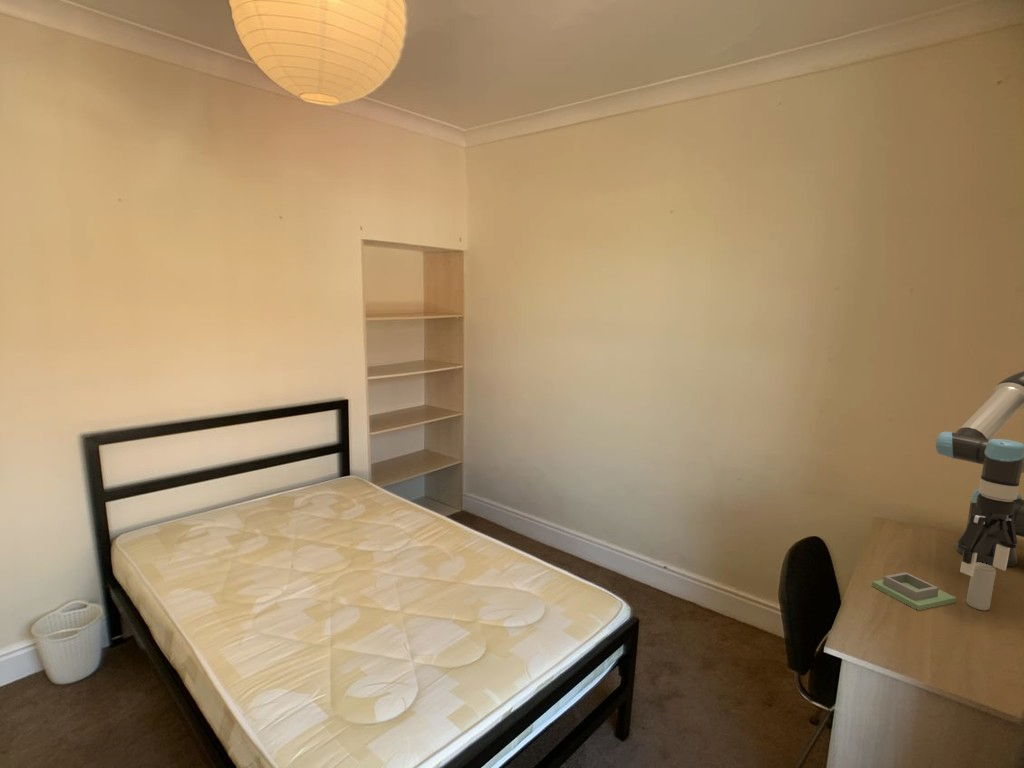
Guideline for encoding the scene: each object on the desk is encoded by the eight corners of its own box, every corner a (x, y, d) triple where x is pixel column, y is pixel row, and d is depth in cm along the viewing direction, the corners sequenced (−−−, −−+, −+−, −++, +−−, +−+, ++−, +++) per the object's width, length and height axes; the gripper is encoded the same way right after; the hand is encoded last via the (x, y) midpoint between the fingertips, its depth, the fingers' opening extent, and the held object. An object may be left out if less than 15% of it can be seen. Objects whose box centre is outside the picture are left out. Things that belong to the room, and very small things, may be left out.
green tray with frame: (907, 579, 156) (909, 566, 156) (955, 602, 144) (957, 589, 144) (871, 586, 152) (873, 573, 151) (918, 610, 140) (920, 597, 139)
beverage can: (992, 613, 140) (1000, 571, 138) (971, 609, 141) (978, 568, 139) (983, 603, 144) (990, 563, 142) (962, 600, 146) (969, 560, 144)
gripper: (1009, 489, 145) (996, 559, 148) (949, 495, 138) (936, 569, 141) (1043, 498, 138) (1028, 572, 141) (982, 505, 131) (968, 583, 133)
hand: (983, 571), depth 141 cm, fingers open, 13 cm apart
